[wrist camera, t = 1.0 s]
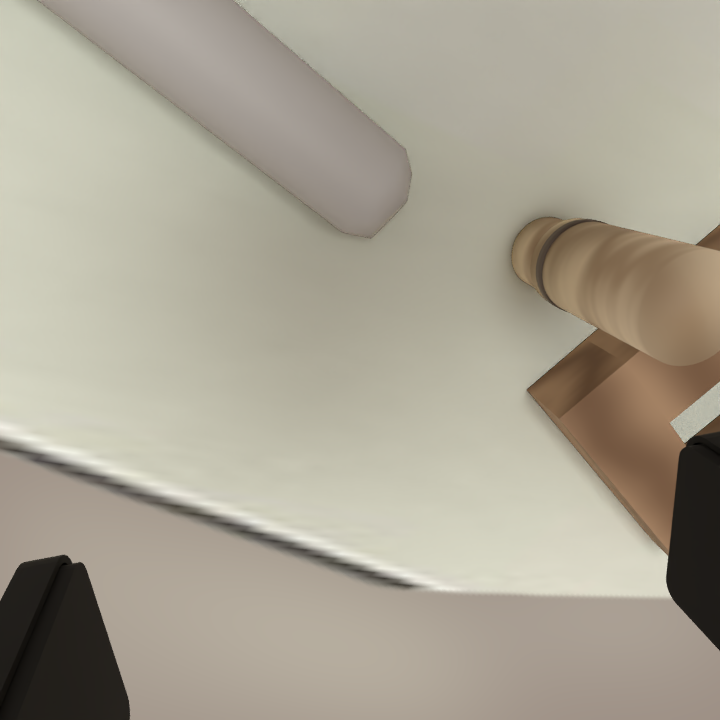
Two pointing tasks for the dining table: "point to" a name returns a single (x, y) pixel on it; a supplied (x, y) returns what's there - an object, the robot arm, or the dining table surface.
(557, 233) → the peg
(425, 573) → the dining table surface
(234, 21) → the tube
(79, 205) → the dining table surface
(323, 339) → the dining table surface
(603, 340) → the board
